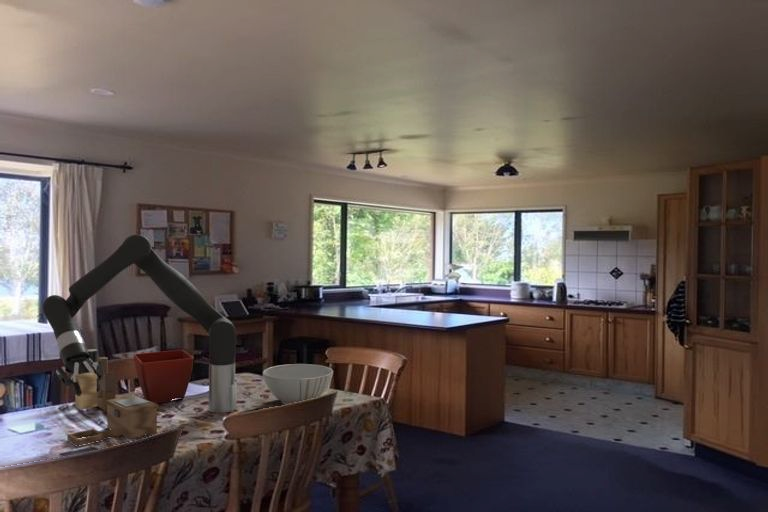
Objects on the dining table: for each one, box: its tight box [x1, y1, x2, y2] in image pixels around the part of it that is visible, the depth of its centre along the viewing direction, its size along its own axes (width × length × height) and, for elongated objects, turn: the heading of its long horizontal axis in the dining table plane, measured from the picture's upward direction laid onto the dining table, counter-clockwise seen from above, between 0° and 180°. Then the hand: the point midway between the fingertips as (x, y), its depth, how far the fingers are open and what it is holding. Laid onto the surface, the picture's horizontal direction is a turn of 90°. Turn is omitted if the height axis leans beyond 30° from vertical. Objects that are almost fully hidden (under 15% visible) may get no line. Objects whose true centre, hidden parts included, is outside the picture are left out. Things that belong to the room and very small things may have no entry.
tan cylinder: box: [74, 372, 98, 410], centre depth 189 cm, size 5×5×10 cm
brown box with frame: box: [66, 394, 159, 447], centre depth 195 cm, size 23×17×10 cm
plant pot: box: [133, 349, 194, 404], centre depth 239 cm, size 19×19×17 cm
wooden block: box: [97, 356, 116, 413], centre depth 225 cm, size 4×11×18 cm, turn 42°
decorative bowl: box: [262, 363, 334, 405], centre depth 236 cm, size 27×27×12 cm
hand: (88, 392), depth 187 cm, fingers closed on tan cylinder, 4 cm apart
